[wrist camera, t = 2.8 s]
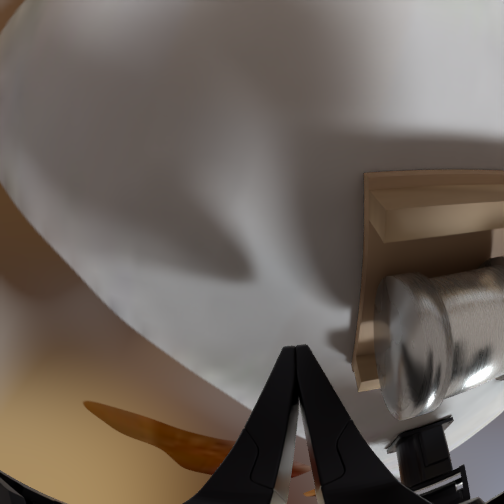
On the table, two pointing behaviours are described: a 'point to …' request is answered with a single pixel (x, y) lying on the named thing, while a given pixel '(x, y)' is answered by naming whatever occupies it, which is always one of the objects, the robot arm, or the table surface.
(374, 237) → the wooden channel tray
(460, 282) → the cylinder
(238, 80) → the table surface
